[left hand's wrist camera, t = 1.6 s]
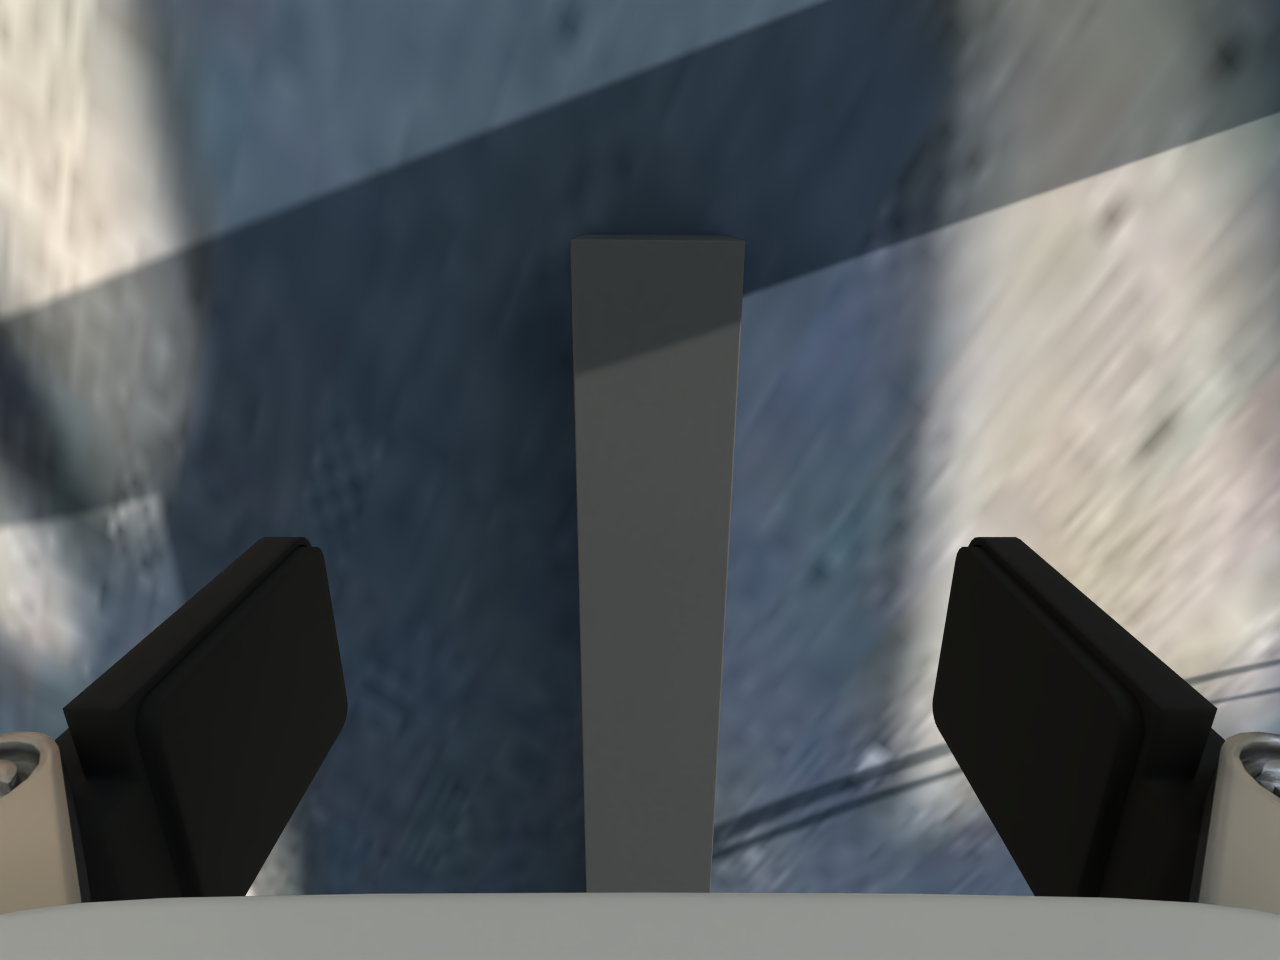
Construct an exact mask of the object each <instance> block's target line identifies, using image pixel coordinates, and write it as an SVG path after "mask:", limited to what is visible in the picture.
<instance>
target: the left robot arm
mask: <svg viewBox="0 0 1280 960" xmlns="http://www.w3.org/2000/svg"><path fill="white" fill-rule="evenodd" d="M63 711H64V714H65V717H66V720H67V724H68V727H69V728H68V729H67V730H66V731H65V732H64V733H63V734H61V735H60V736H59V737H58V738H57V739H56V740H54V739H53V738H51V737H49V736H46V735H44V734H41V733H32V732H16V733H8V734H1V735H0V960H1280V735H1279V734H1272V733H1264V732H1248V733H1239V734H1236V735H1234V736H1231V737H1229V738H1227V739H1226V740H1224V739H1223V738H1222V737H1221V736H1220V735H1219V734H1217V733H1216V732H1215V731H1214V730H1213V729H1212V728H1211V727H1212V724H1213V720H1214V717H1215V714H1216V711H1217V708H1216V707H1215V706H1214V705H1212V704H1211V703H1210V702H1209V701H1208V700H1207V699H1206V698H1204V697H1203V696H1202V695H1201V694H1200V693H1199V692H1197V691H1196V690H1195V689H1194V688H1193V687H1192V686H1190V685H1189V684H1188V683H1187V682H1186V681H1185V680H1183V679H1182V678H1181V677H1180V676H1179V675H1178V674H1176V673H1175V672H1174V671H1173V670H1172V669H1171V668H1169V667H1168V666H1167V665H1166V664H1165V663H1164V662H1162V661H1161V660H1160V659H1159V658H1158V657H1157V656H1155V655H1154V654H1153V653H1152V652H1151V651H1150V650H1148V649H1147V648H1146V647H1145V646H1144V645H1143V644H1141V643H1140V642H1139V641H1138V640H1137V639H1136V638H1134V637H1133V636H1132V635H1131V634H1130V633H1129V632H1127V631H1126V630H1125V629H1124V628H1123V627H1122V626H1120V625H1119V624H1118V623H1117V622H1116V621H1115V620H1113V619H1112V618H1111V617H1110V616H1109V615H1108V614H1106V613H1105V612H1104V611H1103V610H1102V609H1101V608H1099V607H1098V606H1097V605H1096V604H1095V603H1094V602H1092V601H1091V600H1090V599H1089V598H1088V597H1087V596H1085V595H1084V594H1083V593H1082V592H1081V591H1080V590H1078V589H1077V588H1076V587H1075V586H1074V585H1073V584H1071V583H1070V582H1069V581H1068V580H1067V579H1066V578H1065V577H1063V576H1062V575H1061V574H1060V573H1059V572H1058V571H1056V570H1055V569H1054V568H1053V567H1052V566H1051V565H1049V564H1048V563H1047V562H1046V561H1045V560H1044V559H1042V558H1041V557H1040V556H1039V555H1038V554H1037V553H1035V552H1034V551H1033V550H1032V549H1031V548H1030V547H1028V546H1027V545H1026V544H1025V543H1024V542H1023V541H1021V540H1020V539H1018V538H1016V537H976V538H974V539H973V540H972V541H971V542H970V544H969V546H968V547H962V548H960V549H959V551H958V553H957V556H956V561H955V567H954V573H953V579H952V585H951V591H950V598H949V604H948V610H947V616H946V622H945V628H944V634H943V640H942V647H941V653H940V659H939V665H938V671H937V677H936V683H935V690H934V696H933V715H934V720H935V723H936V725H937V728H938V729H939V731H940V733H941V735H942V736H943V738H944V740H945V741H946V743H947V745H948V747H949V748H950V750H951V752H952V754H953V755H954V757H955V759H956V761H957V762H958V764H959V766H960V767H961V769H962V771H963V773H964V774H965V776H966V778H967V780H968V781H969V783H970V785H971V786H972V788H973V790H974V792H975V793H976V795H977V797H978V799H979V800H980V802H981V804H982V805H983V807H984V809H985V811H986V812H987V814H988V816H989V818H990V819H991V821H992V823H993V824H994V826H995V828H996V830H997V831H998V833H999V835H1000V837H1001V838H1002V840H1003V842H1004V844H1005V845H1006V847H1007V849H1008V850H1009V852H1010V854H1011V856H1012V857H1013V859H1014V861H1015V863H1016V864H1017V866H1018V868H1019V869H1020V871H1021V873H1022V875H1023V876H1024V878H1025V880H1026V882H1027V883H1028V885H1029V887H1030V888H1031V890H1032V892H1033V894H1034V895H1035V896H993V895H942V894H840V893H440V894H338V895H287V896H245V895H246V894H247V892H248V890H249V888H250V887H251V885H252V883H253V882H254V880H255V878H256V876H257V875H258V873H259V871H260V869H261V868H262V866H263V864H264V863H265V861H266V859H267V857H268V856H269V854H270V852H271V850H272V849H273V847H274V845H275V844H276V842H277V840H278V838H279V837H280V835H281V833H282V831H283V830H284V828H285V826H286V824H287V823H288V821H289V819H290V818H291V816H292V814H293V812H294V811H295V809H296V807H297V805H298V804H299V802H300V800H301V799H302V797H303V795H304V793H305V792H306V790H307V788H308V786H309V785H310V783H311V781H312V780H313V778H314V776H315V774H316V773H317V771H318V769H319V767H320V766H321V764H322V762H323V761H324V759H325V757H326V755H327V754H328V752H329V750H330V748H331V747H332V745H333V743H334V741H335V740H336V738H337V736H338V735H339V733H340V731H341V729H342V728H343V725H344V723H345V720H346V715H347V696H346V690H345V683H344V677H343V671H342V665H341V659H340V653H339V647H338V640H337V634H336V628H335V622H334V616H333V610H332V604H331V598H330V591H329V585H328V579H327V573H326V567H325V561H324V556H323V553H322V551H321V549H320V548H318V547H312V546H311V544H310V542H309V541H308V540H307V539H306V538H304V537H264V538H262V539H260V540H259V541H257V542H256V543H255V544H254V545H253V546H252V547H250V548H249V549H248V550H247V551H246V552H245V553H243V554H242V555H241V556H240V557H239V558H238V559H236V560H235V561H234V562H233V563H232V564H231V565H229V566H228V567H227V568H226V569H225V570H224V571H222V572H221V573H220V574H219V575H218V576H217V577H215V578H214V579H213V580H212V581H211V582H210V583H208V584H207V585H206V586H205V587H204V588H203V589H202V590H200V591H199V592H198V593H197V594H196V595H195V596H193V597H192V598H191V599H190V600H189V601H188V602H186V603H185V604H184V605H183V606H182V607H181V608H179V609H178V610H177V611H176V612H175V613H174V614H172V615H171V616H170V617H169V618H168V619H167V620H165V621H164V622H163V623H162V624H161V625H160V626H158V627H157V628H156V629H155V630H154V631H153V632H151V633H150V634H149V635H148V636H147V637H146V638H144V639H143V640H142V641H141V642H140V643H139V644H137V645H136V646H135V647H134V648H133V649H132V650H130V651H129V652H128V653H127V654H126V655H125V656H123V657H122V658H121V659H120V660H119V661H118V662H116V663H115V664H114V665H113V666H112V667H111V668H109V669H108V670H107V671H106V672H105V673H104V674H102V675H101V676H100V677H99V678H98V679H97V680H95V681H94V682H93V683H92V684H91V685H90V686H88V687H87V688H86V689H85V690H84V691H83V692H81V693H80V694H79V695H78V696H77V697H76V698H74V699H73V700H72V701H71V702H70V703H69V704H68V705H66V706H65V707H64V708H63Z"/></svg>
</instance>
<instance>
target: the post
mask: <svg viewBox="0 0 1280 960" xmlns="http://www.w3.org/2000/svg"><path fill="white" fill-rule="evenodd" d="M570 255H571V297H572V338H573V379H574V420H575V461H576V502H577V543H578V584H579V626H580V667H581V708H582V749H583V790H584V831H585V872H586V893H710V888H711V870H712V851H713V833H714V814H715V796H716V777H717V759H718V740H719V722H720V703H721V685H722V666H723V648H724V629H725V611H726V592H727V574H728V555H729V537H730V518H731V500H732V481H733V463H734V444H735V426H736V407H737V389H738V370H739V352H740V333H741V315H742V296H743V278H744V259H745V241H744V240H741V239H738V238H734V237H731V236H728V235H647V234H583V235H581V236H578V237H575V238H573V239H571V240H570Z"/></svg>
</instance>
